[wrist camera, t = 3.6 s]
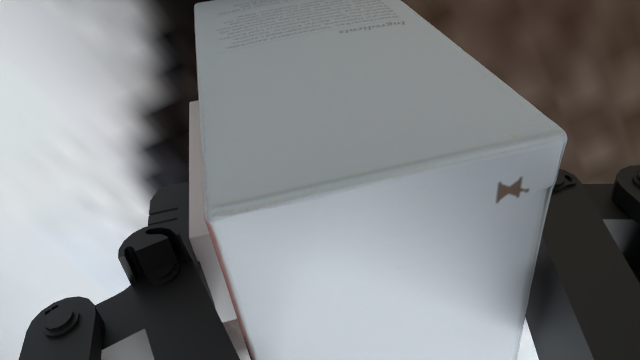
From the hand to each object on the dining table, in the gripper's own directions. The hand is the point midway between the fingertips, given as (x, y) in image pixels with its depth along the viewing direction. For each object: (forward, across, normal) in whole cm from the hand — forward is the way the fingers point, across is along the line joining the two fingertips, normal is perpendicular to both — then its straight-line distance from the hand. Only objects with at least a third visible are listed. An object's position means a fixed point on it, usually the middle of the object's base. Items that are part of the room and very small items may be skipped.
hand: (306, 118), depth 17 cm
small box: (+2, 0, 0) cm, 2 cm away
